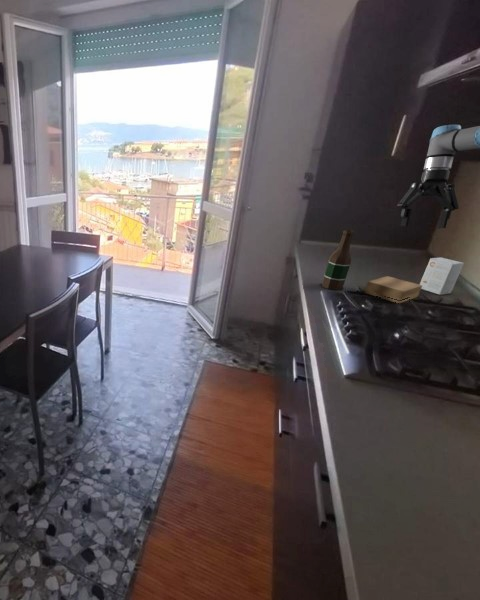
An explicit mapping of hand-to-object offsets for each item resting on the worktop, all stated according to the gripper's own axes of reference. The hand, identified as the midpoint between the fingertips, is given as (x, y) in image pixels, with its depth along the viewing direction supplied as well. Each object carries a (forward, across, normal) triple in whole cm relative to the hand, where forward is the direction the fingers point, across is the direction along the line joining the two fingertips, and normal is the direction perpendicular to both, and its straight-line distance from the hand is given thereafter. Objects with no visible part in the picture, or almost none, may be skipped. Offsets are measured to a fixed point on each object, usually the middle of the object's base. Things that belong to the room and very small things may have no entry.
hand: (422, 227), depth 139 cm
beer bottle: (+27, +27, -4) cm, 38 cm away
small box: (+25, -13, -4) cm, 29 cm away
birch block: (+27, +8, +3) cm, 28 cm away
